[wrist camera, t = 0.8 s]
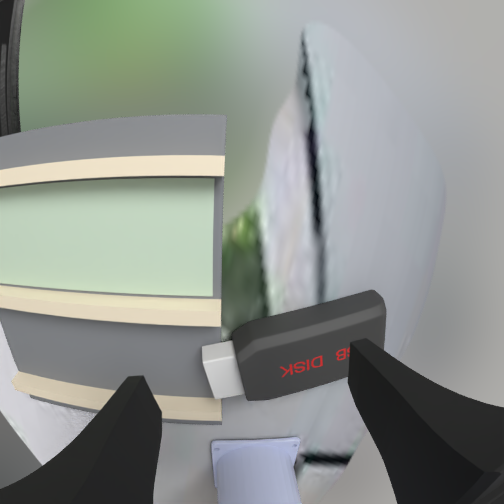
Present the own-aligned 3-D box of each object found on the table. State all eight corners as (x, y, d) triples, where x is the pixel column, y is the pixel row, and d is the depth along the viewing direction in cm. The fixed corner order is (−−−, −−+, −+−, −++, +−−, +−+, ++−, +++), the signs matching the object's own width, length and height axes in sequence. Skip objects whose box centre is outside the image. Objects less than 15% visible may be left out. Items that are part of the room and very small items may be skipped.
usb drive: (371, 348, 21) (388, 368, 19) (216, 390, 20) (219, 417, 17) (373, 288, 20) (394, 305, 17) (198, 331, 18) (198, 357, 16)
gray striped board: (221, 417, 22) (222, 438, 20) (34, 392, 20) (24, 408, 18) (226, 116, 16) (227, 110, 13) (-17, 143, 14) (-37, 144, 12)
